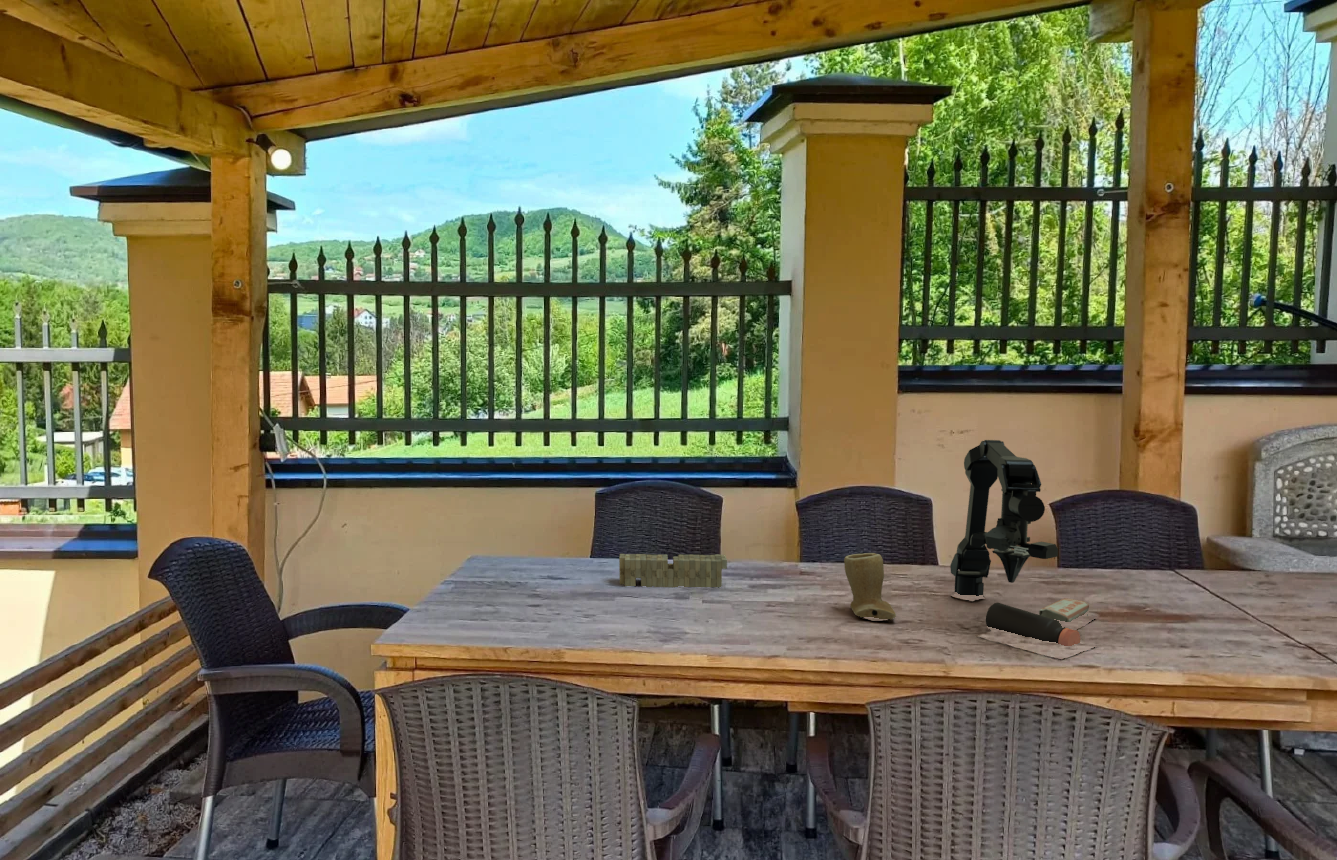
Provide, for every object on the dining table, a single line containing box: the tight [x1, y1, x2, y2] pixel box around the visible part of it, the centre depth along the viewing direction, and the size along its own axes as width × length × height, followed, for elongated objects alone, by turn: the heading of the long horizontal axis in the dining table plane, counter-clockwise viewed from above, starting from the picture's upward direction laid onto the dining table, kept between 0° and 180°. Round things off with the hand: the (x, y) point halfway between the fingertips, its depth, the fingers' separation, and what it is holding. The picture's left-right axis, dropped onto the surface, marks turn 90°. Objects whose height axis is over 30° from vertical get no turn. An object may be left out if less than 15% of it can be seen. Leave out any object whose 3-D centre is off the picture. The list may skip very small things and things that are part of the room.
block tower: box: [618, 553, 728, 588], centre depth 249 cm, size 8×8×29 cm
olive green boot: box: [843, 552, 897, 620], centre depth 222 cm, size 15×12×15 cm
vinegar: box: [985, 602, 1081, 646], centre depth 203 cm, size 7×7×20 cm
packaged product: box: [1038, 597, 1090, 622], centre depth 220 cm, size 18×5×10 cm
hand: (1011, 582), depth 207 cm, fingers closed
